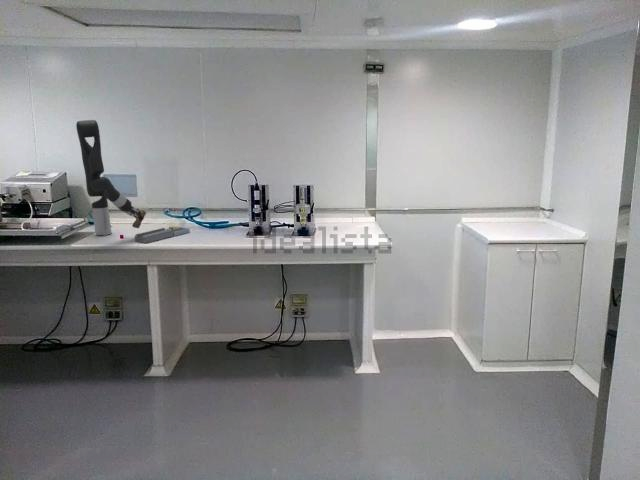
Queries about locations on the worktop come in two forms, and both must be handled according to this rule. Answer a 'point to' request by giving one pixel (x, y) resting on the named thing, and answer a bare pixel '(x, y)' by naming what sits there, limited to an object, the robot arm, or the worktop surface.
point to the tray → (181, 231)
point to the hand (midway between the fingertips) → (141, 219)
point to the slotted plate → (153, 235)
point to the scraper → (138, 220)
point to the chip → (173, 228)
